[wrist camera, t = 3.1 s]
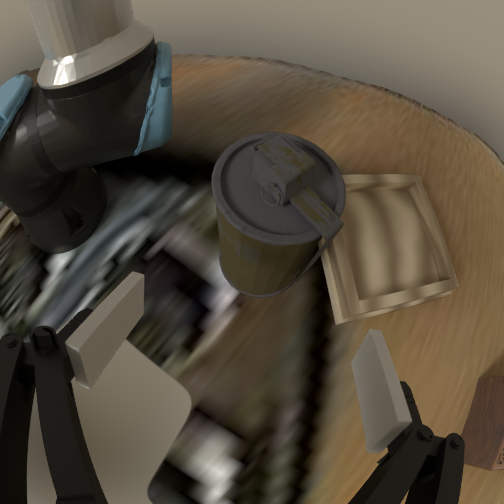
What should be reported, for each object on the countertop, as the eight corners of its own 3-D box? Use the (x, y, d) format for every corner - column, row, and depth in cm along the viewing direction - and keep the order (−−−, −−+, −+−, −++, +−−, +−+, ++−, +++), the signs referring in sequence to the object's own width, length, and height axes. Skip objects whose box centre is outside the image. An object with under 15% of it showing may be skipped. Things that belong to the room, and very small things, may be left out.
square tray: (335, 324, 35) (347, 320, 31) (303, 188, 42) (309, 173, 38) (446, 295, 37) (462, 289, 33) (408, 184, 44) (419, 172, 40)
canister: (203, 252, 37) (179, 149, 19) (263, 208, 40) (287, 94, 22) (258, 317, 35) (290, 266, 16) (317, 265, 38) (388, 178, 19)
